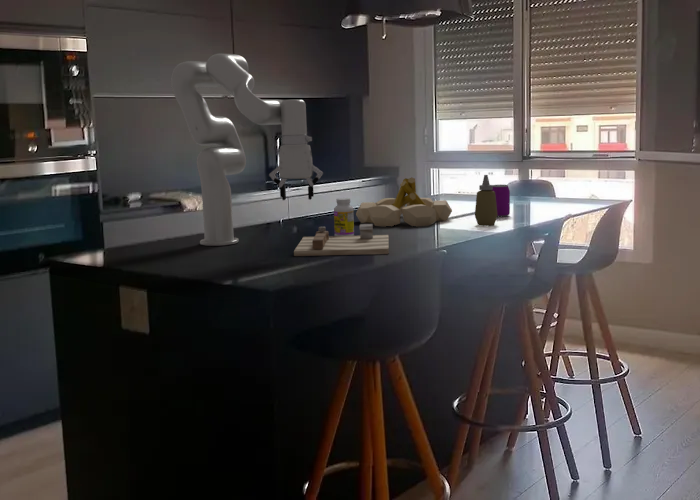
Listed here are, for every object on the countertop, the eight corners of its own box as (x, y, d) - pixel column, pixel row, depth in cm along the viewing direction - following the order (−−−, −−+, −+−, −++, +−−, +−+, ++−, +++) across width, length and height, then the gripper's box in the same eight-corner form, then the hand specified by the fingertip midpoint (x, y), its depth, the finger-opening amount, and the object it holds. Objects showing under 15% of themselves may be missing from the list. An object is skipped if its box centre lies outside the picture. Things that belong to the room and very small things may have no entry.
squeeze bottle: (487, 227, 292) (487, 176, 289) (470, 225, 298) (469, 175, 295) (502, 224, 297) (502, 174, 294) (484, 223, 303) (484, 173, 300)
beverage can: (487, 217, 319) (487, 186, 317) (492, 214, 326) (492, 184, 324) (507, 217, 316) (507, 186, 314) (511, 215, 323) (511, 184, 321)
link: (316, 238, 266) (316, 231, 265) (329, 238, 266) (328, 230, 265) (311, 248, 247) (310, 240, 246) (324, 248, 246) (324, 240, 246)
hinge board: (303, 241, 273) (302, 223, 272) (388, 239, 272) (388, 221, 271) (294, 256, 246) (293, 236, 245) (388, 253, 244) (388, 233, 243)
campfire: (422, 230, 292) (421, 181, 289) (341, 225, 311) (340, 180, 308) (464, 218, 321) (464, 173, 318) (388, 214, 339) (387, 172, 337)
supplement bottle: (330, 236, 281) (329, 199, 279) (343, 234, 286) (342, 197, 284) (344, 238, 277) (343, 200, 275) (358, 235, 282) (357, 198, 279)
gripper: (324, 139, 253) (326, 197, 256) (267, 141, 254) (270, 199, 257) (322, 140, 246) (324, 200, 249) (264, 142, 247) (267, 201, 250)
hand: (297, 199), depth 253 cm, fingers open, 7 cm apart
